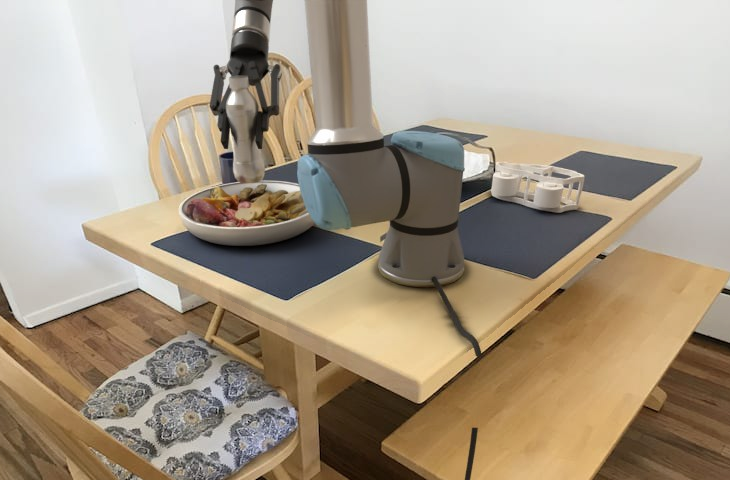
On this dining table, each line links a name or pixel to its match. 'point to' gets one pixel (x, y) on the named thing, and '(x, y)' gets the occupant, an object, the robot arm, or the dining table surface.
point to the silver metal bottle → (244, 131)
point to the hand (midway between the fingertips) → (241, 145)
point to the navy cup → (227, 168)
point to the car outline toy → (546, 189)
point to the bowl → (246, 213)
